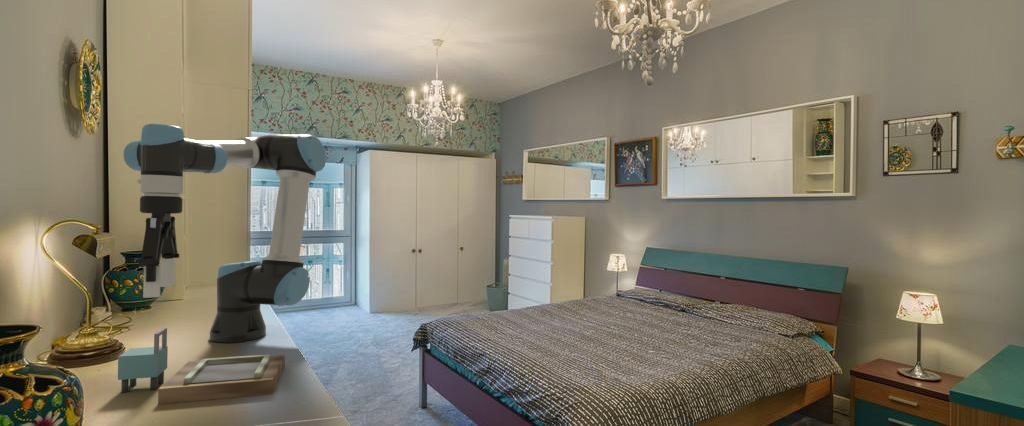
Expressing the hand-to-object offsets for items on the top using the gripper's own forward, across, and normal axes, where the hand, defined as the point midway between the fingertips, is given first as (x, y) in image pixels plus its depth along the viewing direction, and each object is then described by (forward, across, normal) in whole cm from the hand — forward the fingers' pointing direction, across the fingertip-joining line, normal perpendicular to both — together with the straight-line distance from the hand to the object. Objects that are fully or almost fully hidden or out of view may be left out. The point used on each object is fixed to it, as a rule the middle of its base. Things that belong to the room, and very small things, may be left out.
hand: (160, 291), depth 104 cm
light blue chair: (+21, -1, -3) cm, 22 cm away
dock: (+21, +3, +14) cm, 25 cm away
